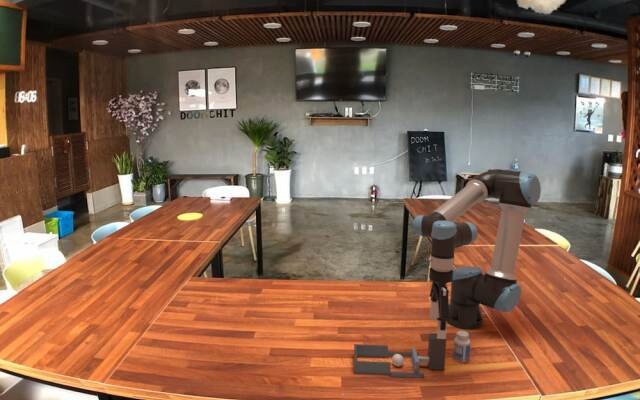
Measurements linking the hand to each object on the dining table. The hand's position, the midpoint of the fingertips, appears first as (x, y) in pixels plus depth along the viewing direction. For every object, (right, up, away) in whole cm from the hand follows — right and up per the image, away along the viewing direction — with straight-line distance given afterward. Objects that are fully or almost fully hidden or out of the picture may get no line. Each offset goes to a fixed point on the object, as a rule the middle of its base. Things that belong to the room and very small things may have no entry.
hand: (437, 328), depth 149 cm
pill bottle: (+11, -13, +8) cm, 19 cm away
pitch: (-16, -14, +4) cm, 22 cm away
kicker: (-2, -14, +3) cm, 14 cm away
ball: (-13, -12, +3) cm, 18 cm away
